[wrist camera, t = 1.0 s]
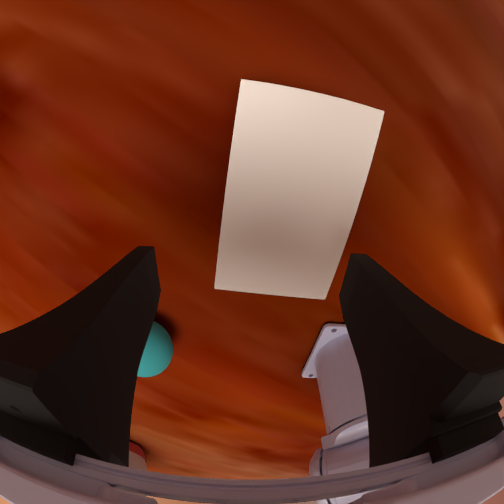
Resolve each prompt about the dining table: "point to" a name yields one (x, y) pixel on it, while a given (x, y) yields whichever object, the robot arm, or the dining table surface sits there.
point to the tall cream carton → (292, 188)
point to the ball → (156, 352)
